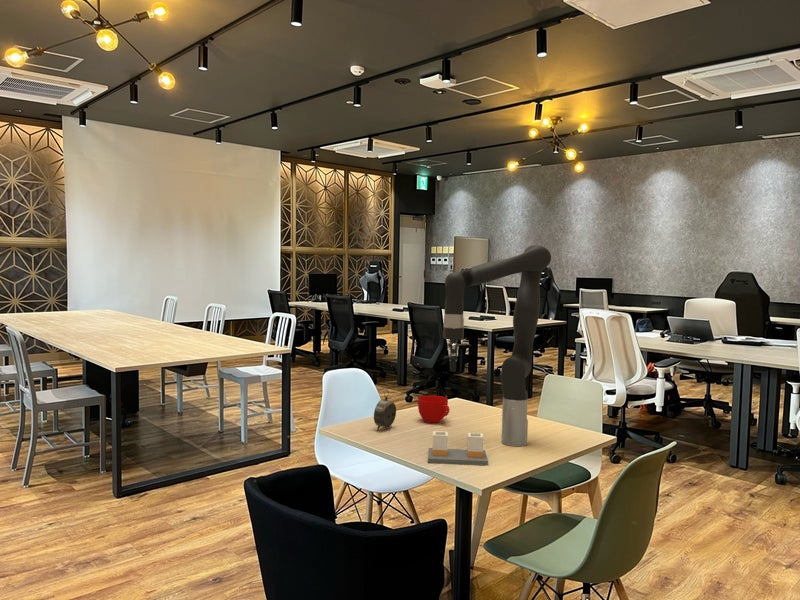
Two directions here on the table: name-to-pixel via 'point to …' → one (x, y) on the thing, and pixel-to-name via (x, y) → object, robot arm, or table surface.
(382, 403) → the alarm clock
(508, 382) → the robot arm
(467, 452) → the pin board
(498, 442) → the table surface
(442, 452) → the sleeve
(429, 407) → the ceramic cup
